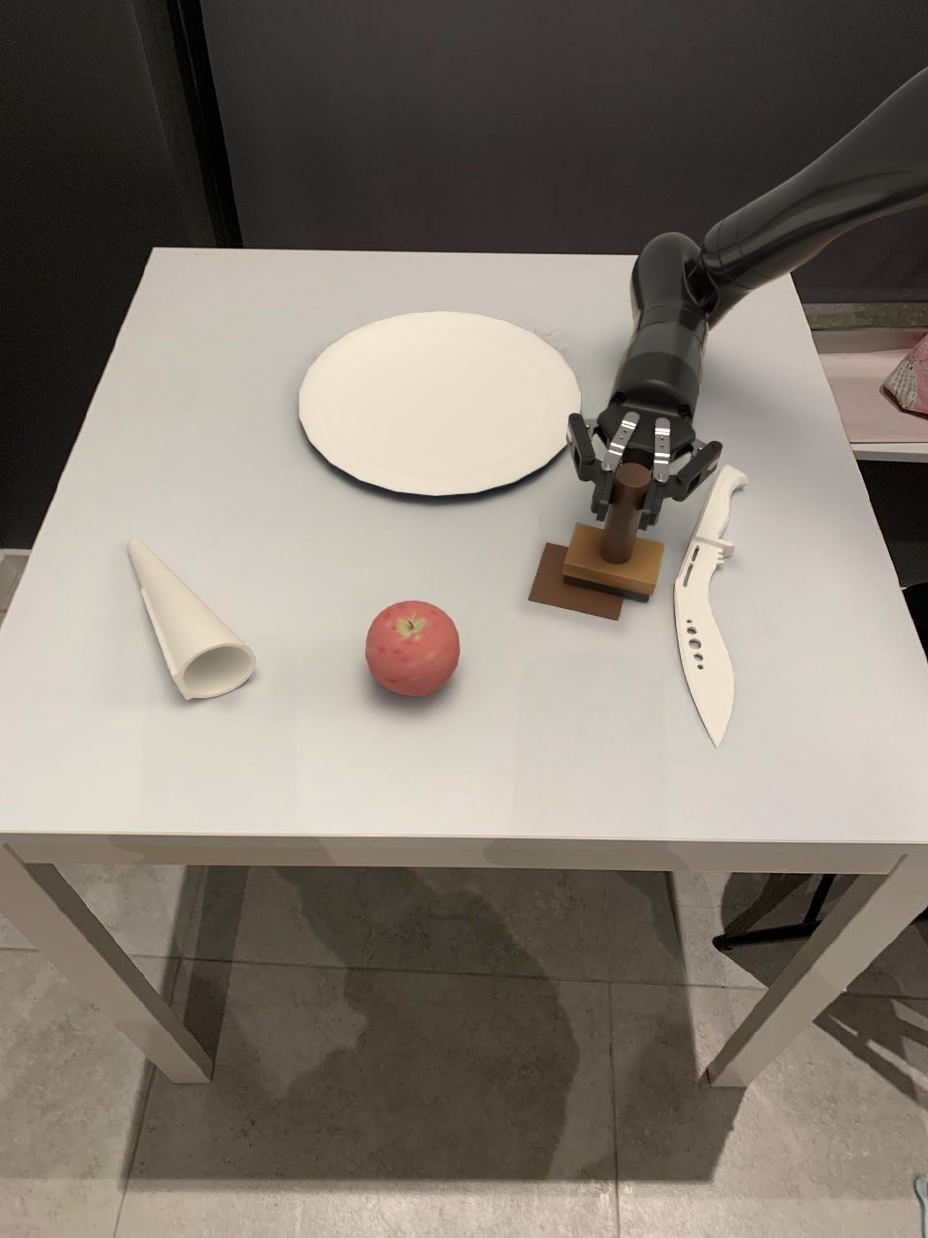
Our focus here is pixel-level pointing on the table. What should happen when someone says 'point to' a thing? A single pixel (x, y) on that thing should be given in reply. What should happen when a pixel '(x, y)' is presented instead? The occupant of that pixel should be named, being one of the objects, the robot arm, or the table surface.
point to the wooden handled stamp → (617, 543)
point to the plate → (439, 403)
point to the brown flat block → (569, 588)
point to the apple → (412, 648)
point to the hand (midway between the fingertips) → (623, 517)
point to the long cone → (189, 631)
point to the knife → (707, 608)
